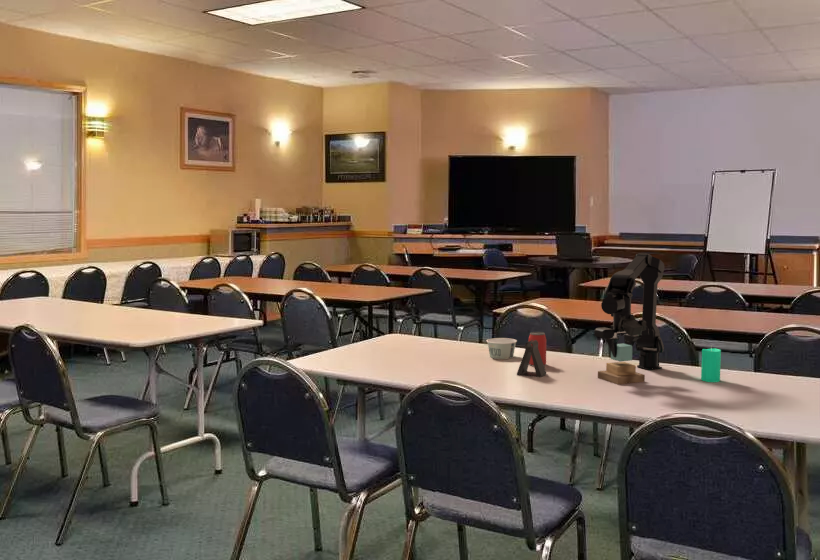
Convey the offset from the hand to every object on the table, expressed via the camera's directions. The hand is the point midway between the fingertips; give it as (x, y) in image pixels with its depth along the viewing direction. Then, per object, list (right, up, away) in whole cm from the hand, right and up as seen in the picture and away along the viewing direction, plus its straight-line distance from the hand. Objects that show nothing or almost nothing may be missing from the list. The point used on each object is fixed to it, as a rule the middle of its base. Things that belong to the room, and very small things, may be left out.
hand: (621, 356), depth 267 cm
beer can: (-24, -6, +27) cm, 37 cm away
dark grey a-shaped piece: (-29, -8, +10) cm, 32 cm away
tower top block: (0, -6, +1) cm, 6 cm away
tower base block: (0, -9, +1) cm, 9 cm away
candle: (+30, -8, -1) cm, 31 cm away
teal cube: (0, -1, 0) cm, 1 cm away
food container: (-36, -5, +44) cm, 57 cm away
